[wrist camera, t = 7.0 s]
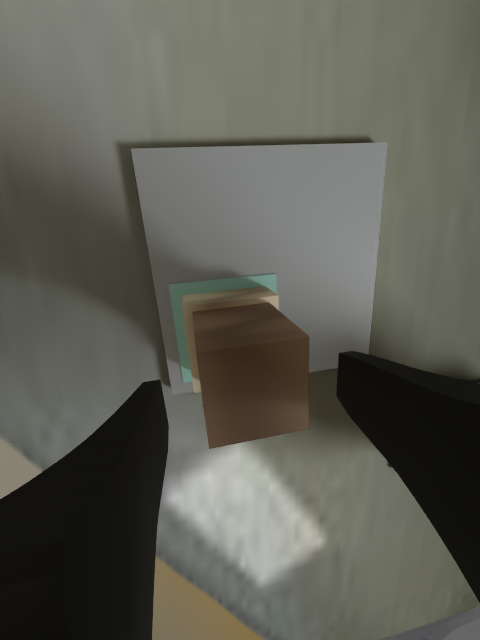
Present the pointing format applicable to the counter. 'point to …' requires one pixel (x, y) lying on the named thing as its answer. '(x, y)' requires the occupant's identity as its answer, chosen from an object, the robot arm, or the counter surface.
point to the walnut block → (251, 373)
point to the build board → (266, 236)
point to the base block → (215, 302)
